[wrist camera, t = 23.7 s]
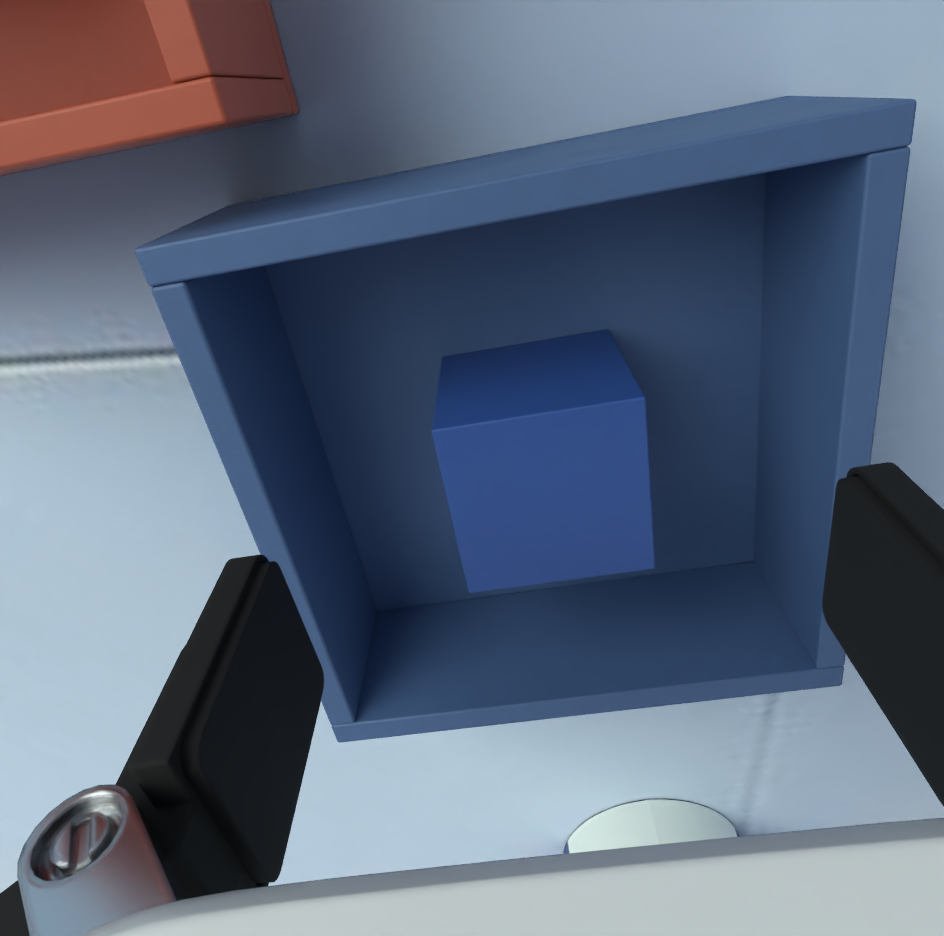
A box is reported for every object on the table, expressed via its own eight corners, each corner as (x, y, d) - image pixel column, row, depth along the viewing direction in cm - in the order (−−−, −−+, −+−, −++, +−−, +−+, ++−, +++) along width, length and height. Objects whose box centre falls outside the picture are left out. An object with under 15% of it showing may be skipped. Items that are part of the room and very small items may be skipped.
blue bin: (226, 205, 16) (132, 249, 12) (790, 95, 15) (919, 97, 11) (365, 616, 23) (337, 743, 18) (768, 563, 22) (842, 686, 17)
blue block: (441, 356, 18) (430, 430, 14) (609, 328, 17) (646, 396, 13) (470, 496, 20) (468, 594, 16) (621, 474, 19) (655, 569, 15)
